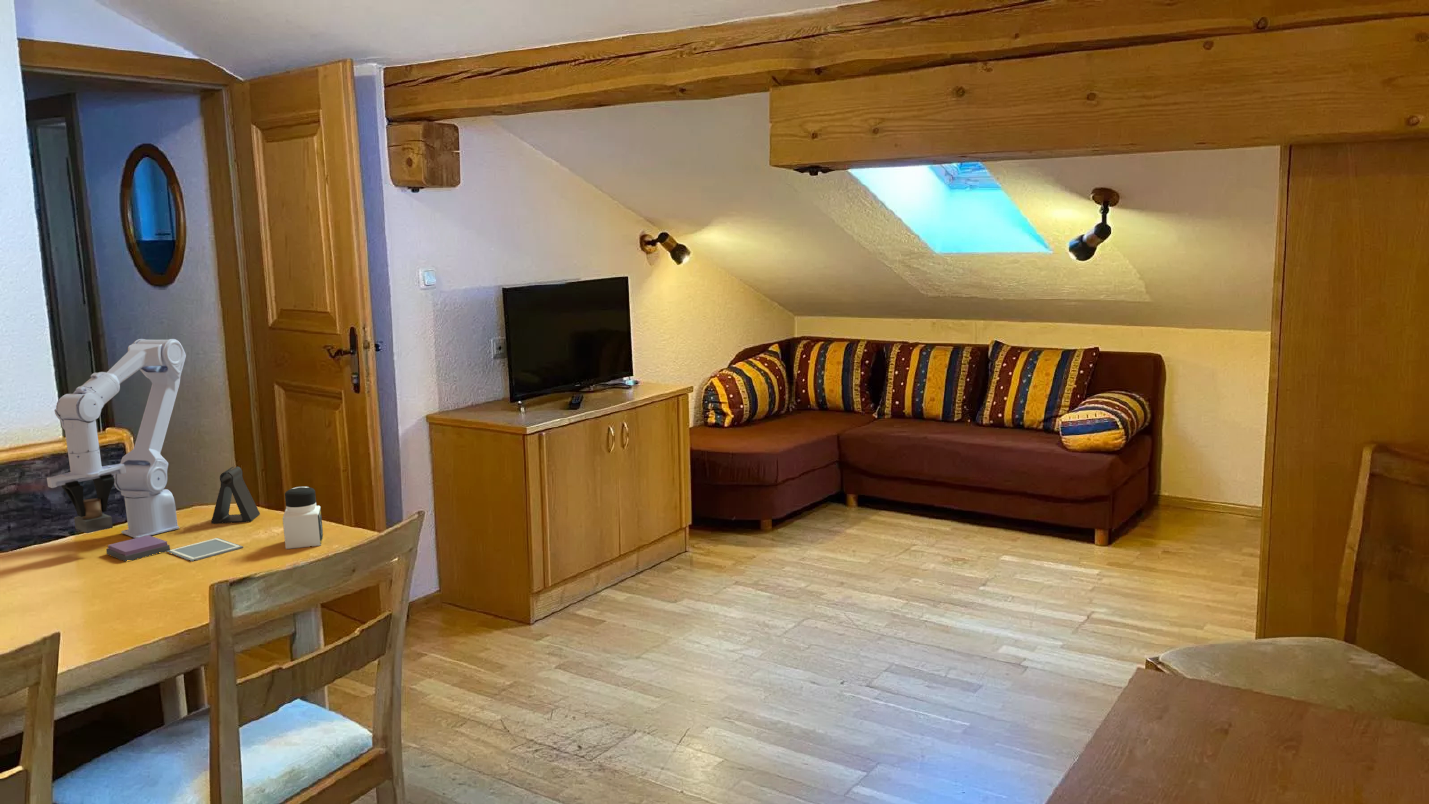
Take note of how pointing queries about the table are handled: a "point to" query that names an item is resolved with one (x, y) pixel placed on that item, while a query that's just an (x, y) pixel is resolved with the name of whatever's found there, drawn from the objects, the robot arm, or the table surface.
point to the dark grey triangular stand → (243, 498)
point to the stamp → (93, 517)
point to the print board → (204, 549)
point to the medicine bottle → (302, 519)
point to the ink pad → (137, 548)
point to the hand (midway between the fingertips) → (92, 513)
